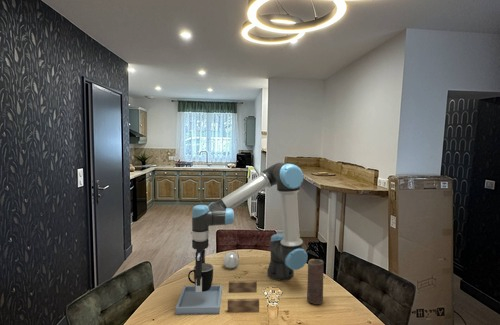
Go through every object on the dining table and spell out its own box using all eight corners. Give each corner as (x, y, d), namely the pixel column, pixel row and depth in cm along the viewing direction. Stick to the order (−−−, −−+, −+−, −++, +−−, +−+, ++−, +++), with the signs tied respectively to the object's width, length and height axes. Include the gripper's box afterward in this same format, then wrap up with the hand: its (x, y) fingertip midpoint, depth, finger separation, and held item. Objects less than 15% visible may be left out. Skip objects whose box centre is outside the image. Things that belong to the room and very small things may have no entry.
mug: (215, 284, 132) (215, 263, 131) (210, 294, 123) (210, 272, 122) (191, 282, 133) (191, 262, 133) (184, 292, 124) (184, 270, 124)
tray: (222, 290, 138) (222, 285, 138) (219, 313, 119) (219, 307, 119) (184, 291, 137) (184, 285, 137) (175, 314, 118) (175, 308, 118)
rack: (256, 290, 139) (256, 281, 138) (259, 311, 121) (259, 300, 121) (228, 291, 138) (228, 281, 138) (227, 312, 121) (227, 301, 120)
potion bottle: (226, 274, 159) (232, 265, 174) (240, 265, 159) (244, 257, 173) (218, 260, 161) (224, 253, 176) (231, 251, 160) (236, 245, 175)
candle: (319, 308, 124) (320, 265, 123) (304, 303, 128) (305, 261, 127) (324, 300, 130) (325, 259, 129) (310, 295, 134) (310, 256, 133)
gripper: (195, 231, 137) (195, 275, 138) (187, 247, 115) (187, 299, 117) (210, 231, 137) (210, 275, 139) (205, 247, 116) (205, 298, 117)
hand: (200, 286), depth 128 cm, fingers closed on mug, 9 cm apart
